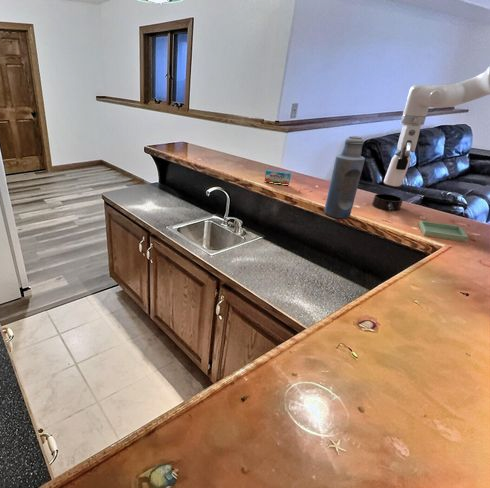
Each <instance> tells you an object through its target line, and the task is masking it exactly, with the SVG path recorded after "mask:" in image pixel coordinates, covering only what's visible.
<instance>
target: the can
mask: <svg viewBox="0 0 490 488" xmlns="http://www.w3.org/2000/svg"><path fill="white" fill-rule="evenodd" d="M400 154H401V153H397V152H396V153H394V155H393V156H392V157H391V160H390V163H389V166H388V168H387V171H386V173H385V176H384V179H383V184H384V185H386V186H389V187H401V186H402V184H403V182H404V181H405V178H406V174H407V171H408V169H409V167H410V164H411V163H412V156H411V155H410V154H409V159H408V163H407V166H406V169H405V170H399V169H396V166H397V163H398V159H400Z"/></svg>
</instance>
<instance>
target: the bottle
mask: <svg viewBox="0 0 490 488" xmlns="http://www.w3.org/2000/svg"><path fill="white" fill-rule="evenodd" d="M364 142H365V141H364V139H363V138H362V136H358V135H349V136H348V137H347V138H346V139H345V141H344V146H343V148H342V151H341V153H340V154H336V156H335V159H334V166H333V169H332V174H331V178H330V183H329V187H328V191H327V197H326V200H325V201H326V202H325V206H324V209H323V213H324V215H327V216H329V217H331V218H334V219H335V218H336V219H348V218H349V217H350V216H351V214H352V209H353V206H354V203H355V198H356V195H357V191H358V187H359V184H360V179H361V176H362V172H363V168H364V165H365V160H366V157H364V156H362V152H363V151H362V149H363V145H364Z"/></svg>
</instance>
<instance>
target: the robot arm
mask: <svg viewBox="0 0 490 488" xmlns="http://www.w3.org/2000/svg"><path fill="white" fill-rule="evenodd" d="M489 95H490V65H489V66H488V67H487V68H486V70H484V71H483V72H481V73H480V74H478V75H476V76H474V77H471V78H468V79H465V80H462V81H459V82H457V83H448V84H433V85H432V84H414V85H412V86H410V88H409V91H408V93H407V97H406V102H405V104H404V108H403V112H402V116H401V118H400V119H401V120H400V123H399V124H400V125H402V128H401V131H400V134H399V137H398V140H397V141H398V142H397V152H396V153H401V154H400V159H398V163H397V166H396V169H399V170H405V169H406V166H407V163H408V159H409V155H410V154H411V153H415V152H416V148H417V145H418V140H419V136H420V132H421V127H422V126H424V125H425V122H426V118H427V115H428V111H429V109H430V108H434V109H439V108H441V109H442V108H452V107H456V106H460V105H462V104H466V103H469V102H472V101H476V100H478V99H481V98H484V97H485V96H486V97H487V96H489Z"/></svg>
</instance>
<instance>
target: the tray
mask: <svg viewBox="0 0 490 488" xmlns="http://www.w3.org/2000/svg"><path fill="white" fill-rule="evenodd" d="M418 228H419V230H420V232H421V234H422V235H423V236H424V237H429V238H437V239H442V240H450V241H457V242H462V243H467V242H468V240H469V235H468V234H467V233H466V232H465V230H464V229H463V228H462V226H460V225H455V224H447V223H439V222H434V221H433V222H432V221H427V220H419V222H418Z"/></svg>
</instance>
